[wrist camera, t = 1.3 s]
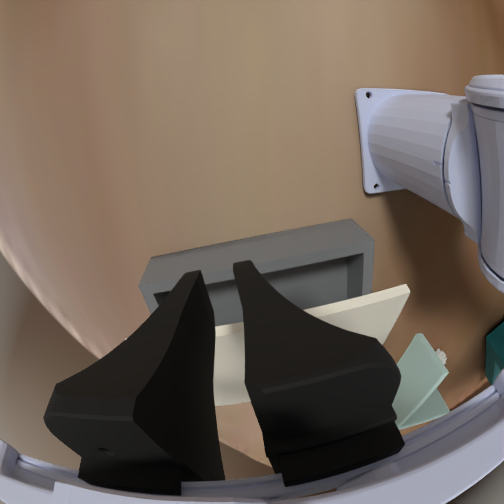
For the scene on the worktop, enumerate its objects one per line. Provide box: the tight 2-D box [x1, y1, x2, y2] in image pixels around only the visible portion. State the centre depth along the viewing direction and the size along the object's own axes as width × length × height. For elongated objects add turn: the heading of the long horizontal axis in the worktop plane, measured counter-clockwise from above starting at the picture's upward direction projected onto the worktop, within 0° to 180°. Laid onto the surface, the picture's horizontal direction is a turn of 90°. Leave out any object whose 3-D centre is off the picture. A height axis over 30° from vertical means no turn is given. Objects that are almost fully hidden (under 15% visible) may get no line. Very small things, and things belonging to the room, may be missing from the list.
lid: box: [125, 284, 410, 406], centre depth 19 cm, size 16×14×1 cm
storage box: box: [139, 219, 374, 327], centre depth 23 cm, size 16×14×4 cm
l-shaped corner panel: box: [392, 333, 450, 430], centre depth 30 cm, size 12×12×8 cm
